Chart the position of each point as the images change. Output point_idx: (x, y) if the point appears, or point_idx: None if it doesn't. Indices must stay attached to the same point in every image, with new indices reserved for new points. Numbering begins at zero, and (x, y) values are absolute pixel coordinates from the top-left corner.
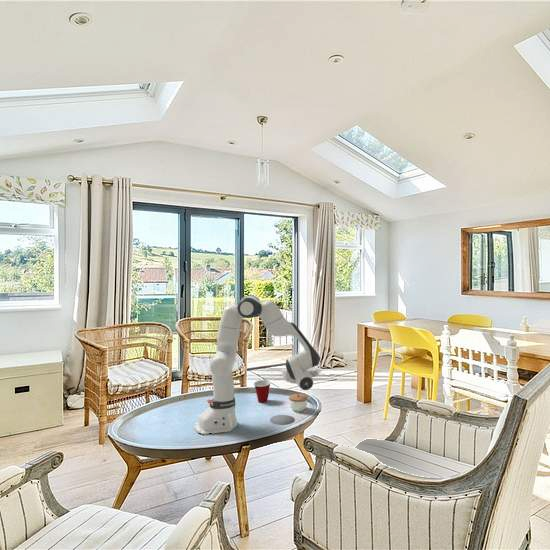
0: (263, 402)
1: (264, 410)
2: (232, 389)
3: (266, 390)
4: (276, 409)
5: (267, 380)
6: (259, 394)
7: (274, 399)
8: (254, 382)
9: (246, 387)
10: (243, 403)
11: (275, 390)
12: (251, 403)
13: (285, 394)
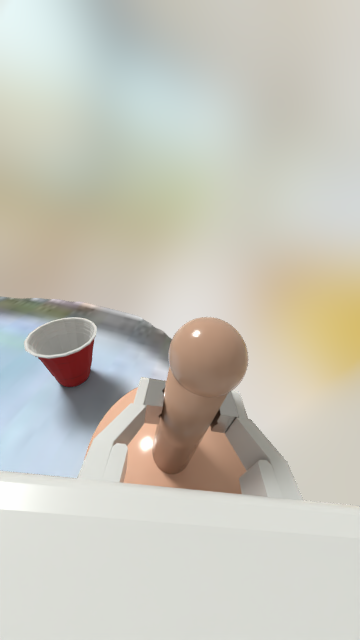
0: (68, 386)
1: (11, 466)
2: None
3: (69, 365)
4: (67, 465)
5: (93, 325)
6: (48, 369)
7: (114, 372)
8: (46, 323)
9: (93, 306)
10: (7, 375)
11: (141, 330)
12: (30, 382)
13: (154, 352)
